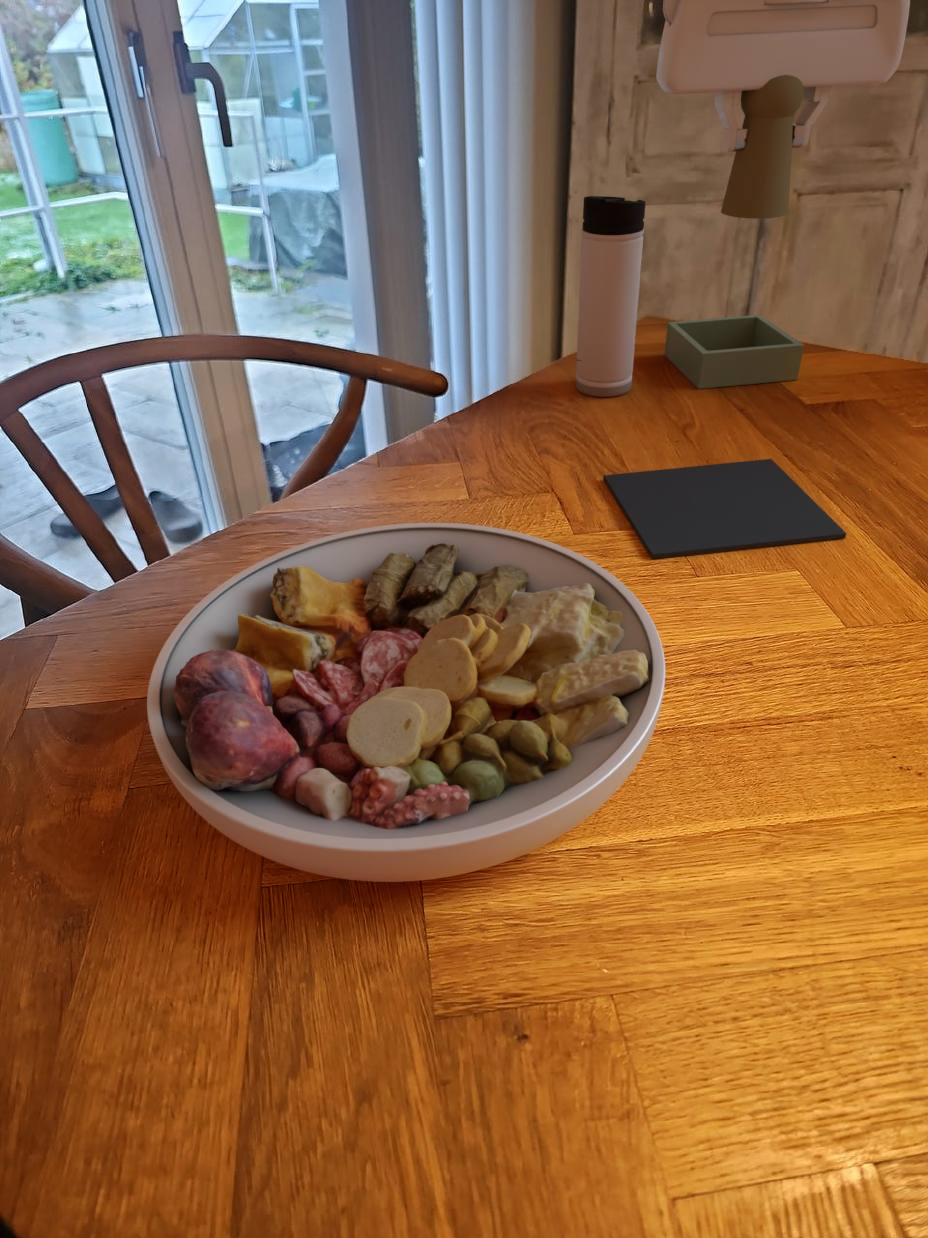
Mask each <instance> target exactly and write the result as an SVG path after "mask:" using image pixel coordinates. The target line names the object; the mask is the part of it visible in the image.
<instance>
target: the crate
mask: <svg viewBox="0 0 928 1238" xmlns="http://www.w3.org/2000/svg"><path fill="white" fill-rule="evenodd" d="M804 348H805V344H804V343H802V342H800V341H799V340H797V339H796V338H795V337H793V336H792V335H791V334H789V333H787V332H786V331H784V330H783V329H782V328H780V327H779V326H777V325H776V324H775V323H773V322H772V321H770V320H769V319H767V318H766V317H764V316H763V315H762V314H751V315H740V316H728V317H717V318H704V319H692V320H680V321H679V320H678V321H668V322H667V324H666V336H665V343H664V354H663V356H664V357H666V359H667V360H669V361H670V362H671V364H673V365H674V367H676V368H677V370H678V371H680V372H681V374H683V376H684V377H686V378H687V379H688V380H689V382H691V383H692V384H693V386H695V387H696V389H698V390H702V389H712V388H723V387H725V388H726V387H736V386H747V385H757V384H768V383H769V384H770V383H779V382H781V383H782V382H791V381H797V380H798V377H799V372H800V368H801V362H802V358H803V352H804Z"/></svg>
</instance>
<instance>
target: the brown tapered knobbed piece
mask: <svg viewBox="0 0 928 1238" xmlns="http://www.w3.org/2000/svg"><path fill="white" fill-rule="evenodd" d="M804 92H805V87H803V85H802V82H801V81H800V80H799V79H798V78H797V77H794V76H789V75H783V76H778V77H775V78H773V79H770V80H769V81H768V82H767V83H766V84H765V85H764V86H763V87H762V88H760V89H758V90H744V91H741V95H740V108H741V110H742V112H743V114H744V118H743V123H742V125H741V127H743V128H747V129H748V132H747V138H746V139H745V142H746V146H745V148H744V150H743V151H736V152H734V153H735V154H734V158H733V162H732V165H731V170H730V174H729V178H728V182H727V186H726V189H725V194H724V198H723V201H722V204H721V209H720V213H721V214H723V215H724V216H728V217H732V218H740V219H755V220H756V219H760V220H761V219H773V218H774V219H775V218H782V217H785V216H787V215H788V214H789V212H790V211H789V209H790V208H789V207H790V193H791V191H790V190H791V169H792V152H793V150H792V149H793V148H792V134H793V123H794V115H795V114H796V113H797V112H798V110H799V109H800V108H801V106H802V103H803V101H804V100H803V97H804Z"/></svg>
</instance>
